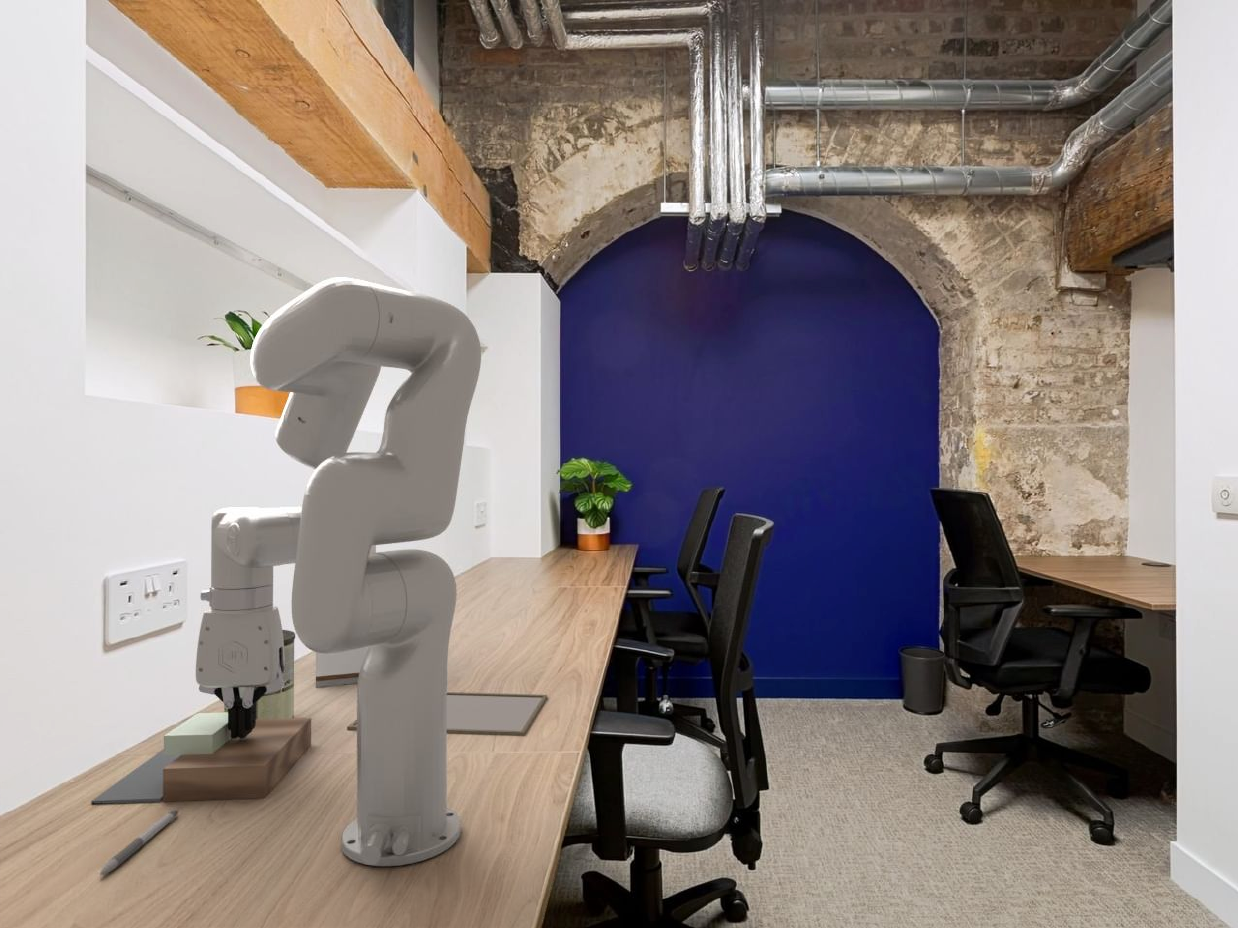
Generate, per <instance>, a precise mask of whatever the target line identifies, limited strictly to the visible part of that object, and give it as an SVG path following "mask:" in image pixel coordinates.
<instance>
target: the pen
mask: <svg viewBox="0 0 1238 928" xmlns="http://www.w3.org/2000/svg"><path fill="white" fill-rule="evenodd" d="M178 813H179V809H172V810H170V811H169V812H167V813H166V814H165V815H164V816H162V817H161V818H159V820H157V821H156V822H155V823H154V824H153V825H151V826H150V827H149V828H148V829H146V830H145V831H144V832H143V833H141V834H140V835H138V837H136V838H135V839H134V840H133V841H132V842H130V843H129V844H128V845H127V846H125V847H124V848H123V849H122V850H120V851H119V852H118V853H117V854H115V855H114V856H113V857H112V858H111V859H110V860H109V861H107V863H106V864H105V865H104V866H103V867H102V868H101V870H100V872H99V873H100V875H102V876H103V875H106V874H109V873H111V872H112V871H114V870H115V869H116V868H118V867H119V866H120V865H122V863H124V862H125V860H127V859H128V858H129V857H131V856H132V855H133V854H134V853H135V852H137V851H138V850H139V849H140V848H141V847H142V846H143V845H145V843H147V842H148V841H149V840H150V839H152V838H154V837H155V835H156V834H157V833H158V832H159V831H161V830H162V829H164V828H165V826H168V824H172V823H174V821H175V818H176V817H177V816H178Z"/></svg>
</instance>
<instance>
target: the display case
mask: <svg viewBox="0 0 1238 928" xmlns="http://www.w3.org/2000/svg"><path fill="white" fill-rule="evenodd" d="M371 553H377V545H373V546H371V549H370V553H369V554H371ZM369 647H370V646H367V647H363V648H358V649H354V650H349V651H345V652H339V653H330V654H326V653H319V652H315V688H316V687H318V688H324V687H323V686H328V687H335V686H334V685H338V686H344V685H343V684H348V685H354V684H353V683H358V677H359V673H360V669H361V666H362V663H363V660H364V658H365V655H366V653H367V651H368V649H369Z"/></svg>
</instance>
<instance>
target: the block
mask: <svg viewBox="0 0 1238 928" xmlns="http://www.w3.org/2000/svg"><path fill="white" fill-rule="evenodd" d="M230 739H231V730H229V729H228V712H225V713H224V712H199V713H196V714H195V715H193V716H191V717H190V718H188V719H187V720H185V721H184V722H182V723H181V724H179V725H177V727H175V728H174V729H172V730H170V731H169V732H168V733H166V734H164V735H163V749H164V755H194V754H213V753H214V752H215V751H217V750H218V749H219V748H220V747H222V746H223V745H224V744H225V743H227V742H228V741H229V740H230Z"/></svg>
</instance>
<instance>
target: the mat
mask: <svg viewBox="0 0 1238 928" xmlns="http://www.w3.org/2000/svg"><path fill="white" fill-rule="evenodd" d="M179 756H180V755H164V748H163V749H161V750H160V751H159V752H157V753H155V755H153V756H152V757H150V758H149V759H147V760H146V761H145V762H144V763H142V764H141V765H139V766H138V767H136V768H135V769H133V770H132V771H131V772H129V773H128V774H127V775H124V777H122V778H121V779H120V780H118V781H117V782H116V783H114V784H113V785H111V786H110V787H108V788H107V789H106V790H104V791H103V792H101V793H100V794H99V795H97V796H96V797H95V798H93V799H91V800H90V804H91V803H99V804H98V805H101V804H100V803H103V804H104V803H105V804H104V805H106V803H107V805H109V804H110V803H112V804H132V803H133V804H134V803H135V804H136V803H159V802H160V803H161V802H163V768H165V767H166V766H167V765H169V764H170V763H171V762H173V761H174V760H175V759H176V758H178V757H179ZM108 803H109V804H108ZM103 804H102V805H103Z"/></svg>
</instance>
